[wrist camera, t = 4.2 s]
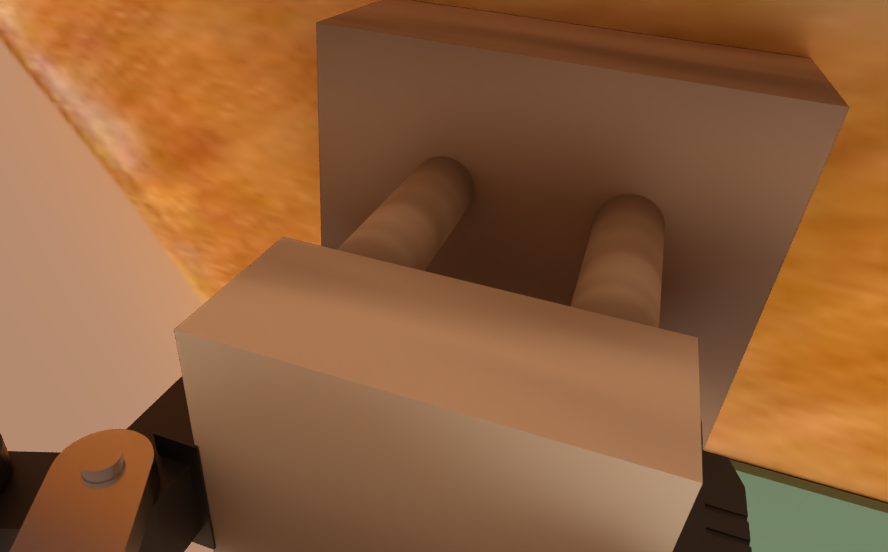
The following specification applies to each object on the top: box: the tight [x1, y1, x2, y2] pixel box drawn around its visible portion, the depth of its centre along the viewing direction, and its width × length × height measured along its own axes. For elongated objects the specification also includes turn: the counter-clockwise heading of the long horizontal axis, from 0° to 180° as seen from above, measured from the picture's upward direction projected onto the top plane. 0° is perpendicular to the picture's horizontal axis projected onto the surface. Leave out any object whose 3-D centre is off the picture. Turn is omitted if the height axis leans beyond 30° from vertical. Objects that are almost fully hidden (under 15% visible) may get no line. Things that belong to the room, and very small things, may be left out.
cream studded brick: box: [174, 156, 703, 552], centre depth 12 cm, size 6×6×8 cm
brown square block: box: [316, 0, 849, 449], centre depth 16 cm, size 10×10×4 cm
